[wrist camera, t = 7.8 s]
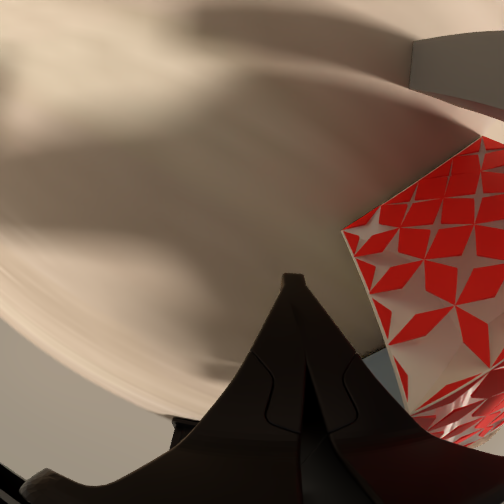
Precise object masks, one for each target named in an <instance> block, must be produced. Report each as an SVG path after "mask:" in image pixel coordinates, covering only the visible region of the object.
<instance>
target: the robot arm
mask: <svg viewBox="0 0 504 504" xmlns="http://www.w3.org/2000/svg"><path fill="white" fill-rule="evenodd" d="M172 424H173V426H174V428H175V430H174V434H173V438H172V442H171V446H170V450H169V451H167V452H166V453H164V454H162V455H161V456H159V457H157V458H156V459H154V460H153V461H151V462H149V463H147V464H146V465H144V466H142V467H140V468H139V469H137V470H135V471H133V472H131V473H130V474H128V475H126V476H124V477H122V478H120V479H119V480H116V481H115V482H112V483H109V484H107V485H101V486H86V485H83V484H80V483H77V482H75V481H73V480H71V479H69V478H66V477H64V476H62V475H60V474H58V473H56V472H54V471H52V470H51V469H48V468H45V469H43V470H42V471H40V472H38V473H37V474H35V475H34V476H32V477H31V478H30V479H28V480H25V479H24V478H22V477H21V476H19V475H18V474H16V473H15V472H13V471H12V470H11V469H9V468H8V467H6V466H5V465H3V464H2V463H0V504H504V456H498V455H493V454H489V453H485V452H482V451H479V450H475V449H472V448H468V447H465V446H462V445H459V444H456V443H452V442H449V441H446V440H443V439H441V438H438V437H436V436H434V435H432V434H430V433H429V432H427V431H426V430H425V429H423V428H422V427H421V426H420V425H419V424H418V423H417V422H416V421H415V420H414V419H413V418H412V417H411V416H410V415H409V414H408V412H407V411H406V410H405V409H404V408H403V407H402V406H401V405H400V404H399V403H398V402H397V401H396V400H395V398H394V397H393V396H392V395H391V394H390V393H389V392H388V391H387V390H386V389H385V387H384V386H383V385H382V384H381V383H380V382H379V381H378V379H377V378H376V377H375V376H374V375H373V373H372V372H371V371H370V369H369V368H368V367H367V366H366V364H365V363H364V362H363V360H362V359H361V358H360V356H359V355H358V354H356V351H355V350H354V348H353V347H352V346H351V344H350V343H349V342H348V340H347V339H346V338H345V336H344V335H343V334H342V332H341V331H340V330H339V328H338V327H337V326H336V324H335V323H334V322H333V320H332V319H331V318H330V316H329V315H328V314H327V312H326V311H325V310H324V308H323V307H322V306H321V304H320V303H319V302H318V300H317V299H316V298H315V296H314V295H313V294H312V293H311V291H310V290H309V289H308V287H307V286H306V283H305V279H304V275H303V274H296V273H284V274H283V275H282V281H281V289H280V293H279V295H278V297H277V299H276V301H275V303H274V305H273V307H272V309H271V311H270V313H269V315H268V317H267V319H266V321H265V323H264V325H263V327H262V329H261V330H260V332H259V334H258V336H257V338H256V340H255V342H254V344H253V346H252V347H251V349H250V352H249V353H248V355H247V356H246V358H245V360H244V362H243V364H242V365H241V367H240V369H239V370H238V372H237V374H236V375H235V377H234V378H233V380H232V381H231V383H230V384H229V385H228V387H227V388H226V389H225V391H224V392H223V393H222V395H221V396H220V397H219V398H218V400H217V401H216V402H215V403H214V405H213V406H212V407H211V408H210V410H209V411H208V412H207V413H206V414H205V416H204V417H203V418H202V419H201V420H200V422H199V423H198V422H192V421H187V420H182V419H177V418H173V419H172Z"/></svg>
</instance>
